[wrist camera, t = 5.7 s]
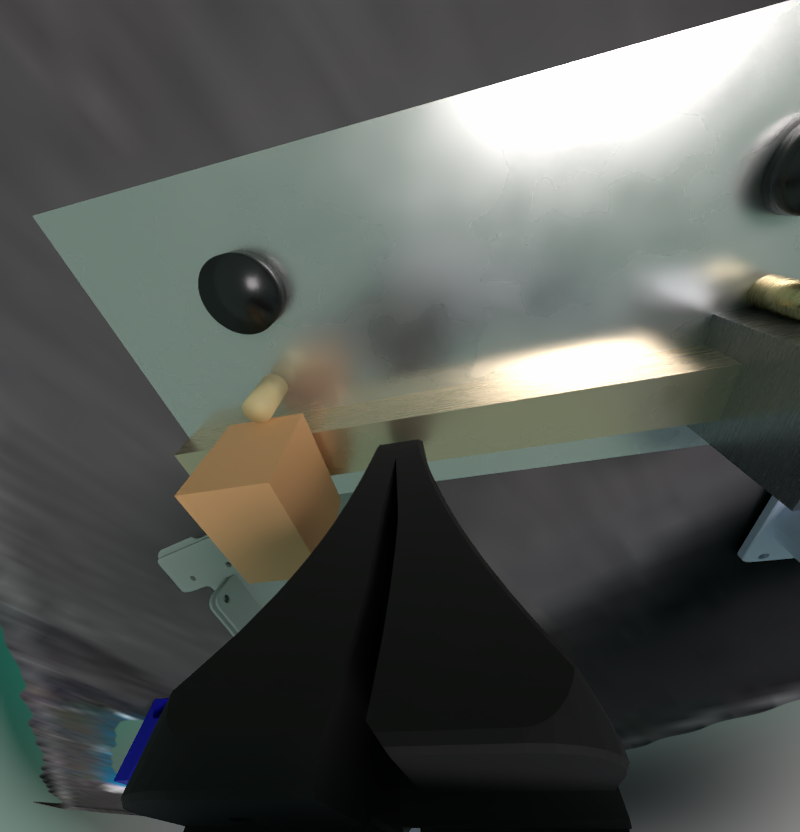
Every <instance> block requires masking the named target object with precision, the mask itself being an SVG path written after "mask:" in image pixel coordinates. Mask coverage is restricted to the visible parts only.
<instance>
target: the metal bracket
mask: <svg viewBox="0 0 800 832" xmlns="http://www.w3.org/2000/svg"><path fill="white" fill-rule="evenodd" d="M352 494H353V492H351V493H344V494H339V496H340V498H341V503H340V508H339V512H338V516H339V514H340V513H341V511H342V510H343V508H344V507H345V505H346V504H347V502H348V500H349V499H350V497H351V495H352ZM158 558H159V560H158V563H159V565H160V566H161V567H162V568H163V570H164V571H165V572H166V573H167V574H168V575H169V577H170V578H171V579H172V580H173V581H174V582H175V584H176V585H177V586H178V587H179V588H180V590H182V591H183V592H188V591H189V592H192V591H194V590H197V589H200V588H202V587H205V586H209V587H211V588H212V589H213V590H214V592H213V594H212V595H211V597H210V600H209V605H210V609H211V610H212V612H213V613H214V614H215V615H216V616H217V618H218V619H219V620H220V621H221V622H222V624H223V625H224V626H225V627H226V628H227V630H228V631H229V632H230V633H231V634H232V636H233V637H234V636H235V635H236V634H237V633H238V632H239V631H240V630H241V629H242V628H243V627H244V626H245V625H246V624H247V623H248V622H249V621H250V620H251V619H252V618H253V617H254V616H255V615H256V614H257V613H258V612H259V611H260V610H261V609H262V608H263V607H264V606H265V605H266V604H267V603H268V602H269V601H270V600H271V599H272V598H273V597H274V596H275V595H276V594H277V593H278V591H279V590H280V589H281V588H282V587H283V586H284V585H285V584H286V583H287V581H288V580H281V581H271V582H261V583H251V584H248V583H247V582H246V580H245V579H244V578H243V577H242V576H241V574H240V573H239V572H238V571H237V570H236V568H235V567H234V566H233V565H232V564H231V565H230V564H229V563H230V561H229V560H228V559H227V558H226V557H225V555H224V554H223V553H222V552H221V551H220V550H219V548H218V547H217V546H216V545H215V544H214V542H213V541H212V540H211V539H210V538H209V537H208V535H205V536H203V537H200V538H193V537H190V538H188V539H185V540H183V541H181V542H178V543H176V544H174V545H172V546H169V547H167V548H165V549H162V550H160V552H159V554H158Z"/></svg>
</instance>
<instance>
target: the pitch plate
mask: <svg viewBox="0 0 800 832" xmlns="http://www.w3.org/2000/svg"><path fill="white" fill-rule="evenodd" d="M33 218H34V219H35V220H36V222H37V223H38V225H39V226H40V228H41V229H42V230H43V232H44V233H45V235H46V236H47V237H48V239H49V240H50V242H51V243H52V244H53V246H54V247H55V249H56V250H57V252H58V253H59V254H60V256H61V257H62V259H63V260H64V261H65V263H66V264H67V266H68V267H69V268H70V270H71V271H72V273H73V274H74V276H75V277H76V278H77V280H78V281H79V283H80V284H81V285H82V287H83V288H84V290H85V291H86V292H87V294H88V295H89V297H90V298H91V300H92V301H93V302H94V304H95V305H96V307H97V308H98V309H99V311H100V312H101V314H102V315H103V316H104V318H105V319H106V321H107V322H108V324H109V325H110V326H111V328H112V329H113V331H114V332H115V333H116V335H117V336H118V338H119V339H120V340H121V342H122V343H123V345H124V346H125V348H126V349H127V350H128V352H129V353H130V355H131V356H132V357H133V359H134V360H135V362H136V363H137V365H138V366H139V367H140V369H141V370H142V372H143V373H144V374H145V376H146V377H147V379H148V380H149V381H150V383H151V384H152V386H153V387H154V389H155V390H156V391H157V393H158V394H159V396H160V397H161V398H162V400H163V401H164V403H165V404H166V405H167V407H168V408H169V410H170V411H171V413H172V414H173V415H174V417H175V418H176V420H177V421H178V422H179V424H180V425H181V427H182V428H183V429H184V431H185V432H186V434H187V435H188V437H189V438H190V439H189V440H188V441H187V442H186V443H185V444H184V445H183V446H182V447H181V448H180V450H179V451H178V452H177V453H176V454H175V455H174V456H175V457H176V458H177V459H178V461H179V462H180V463H181V465H182V466H183V467H184V469H185V470H186V471H187V472H188V474H189V475H191V474H192V473H193V472H194V470H195V469H196V468H197V466H198V465H199V464H200V463H201V461H202V460H203V459H204V458H205V456H206V455H207V454H208V452H209V451H210V450H211V449H212V447H213V446H214V445H215V444H216V442H217V441H218V440H219V438H220V437H221V436H222V435H223V433H224V432H225V431H226V430H227V428H228V427H229V426H230V425H235V424H241V423H247V422H252V421H251V420H249V419H248V418H247V417H246V416H245V415H244V413H243V411H242V404H243V402H244V401H245V400H246V399H247V397H248V396H249V395H250V394H251V393H252V391H253V390H254V389H255V388H256V386H257V385H258V384H259V383H260V381H261V380H262V379H263V378H264V377H265V376H266V375H269V374H275V375H278V376H280V377H282V378H283V379H284V380H285V381H286V383H287V385H288V391H287V393H286V395H285V396H284V398H283V400H282V401H281V403H280V404H279V406H278V408H277V409H276V411H275V412H274V414H273V416H272V417H271V418H276V417H282V416H288V415H294V414H299V413H303V415H304V417H305V419H306V421H307V424H308V426H309V428H310V430H311V433H312V435H313V437H314V439H315V442H316V444H317V446H318V448H319V451H320V453H321V455H322V457H323V460H324V462H325V464H326V466H327V469H328V471H329V473H330V475H331V478H332V480H333V482H334V484H335V487H336V489H337V491H338V493H339V494H344V493H351V492H354V490H355V489H356V487H357V485H358V483H359V482H360V480H361V478H362V476H363V474H364V473H365V471H366V469H367V467H368V465H369V463H370V461H371V459H372V457H373V455H374V453H375V451H376V449H377V448H378V446H379V445H383V444H390V443H396V442H403V441H410V440H416V439H419V440H421V441H423V445H424V449H425V454H426V458H427V463H428V466H429V469H430V471H431V473H432V476H433V478H434V480H435V481H441V480H448V479H456V478H463V477H470V476H478V475H485V474H493V473H500V472H508V471H515V470H523V469H530V468H538V467H545V466H553V465H560V464H568V463H575V462H582V461H590V460H597V459H605V458H612V457H620V456H627V455H635V454H642V453H650V452H657V451H665V450H672V449H680V448H687V447H694V446H702V445H709V444H710V445H711V446H712V447H713V448H715V449H716V450H717V451H718V452H720V453H721V454H722V455H723V456H725V457H726V458H727V459H728V460H729V461H731V462H732V463H733V464H734V465H736V466H737V467H738V468H739V469H741V470H742V471H743V472H744V473H745V474H747V475H748V476H749V477H750V478H752V479H753V480H754V481H755V482H757V483H758V484H759V485H760V486H761V487H763V488H764V489H765V490H766V491H768V492H769V493H770V494H771V495H773V496H774V497H775V498H776V499H777V500H779V501H780V502H781V503H782V504H784V505H785V506H786V507H787V508H789V509H790V510H791V511H798V510H800V0H789V1H785V2H782V3H778V4H775V5H771V6H768V7H764V8H761V9H757V10H754V11H750V12H747V13H743V14H740V15H736V16H733V17H729V18H726V19H722V20H719V21H715V22H712V23H708V24H705V25H701V26H698V27H694V28H691V29H687V30H684V31H680V32H677V33H673V34H670V35H666V36H663V37H659V38H656V39H652V40H648V41H645V42H641V43H638V44H634V45H631V46H627V47H624V48H620V49H617V50H613V51H610V52H606V53H603V54H599V55H596V56H592V57H589V58H585V59H582V60H578V61H575V62H571V63H568V64H564V65H561V66H557V67H554V68H550V69H547V70H543V71H540V72H536V73H533V74H529V75H526V76H522V77H519V78H515V79H511V80H508V81H504V82H501V83H497V84H494V85H490V86H487V87H483V88H480V89H476V90H473V91H469V92H466V93H462V94H459V95H455V96H452V97H448V98H445V99H441V100H438V101H434V102H431V103H427V104H424V105H420V106H417V107H413V108H410V109H406V110H403V111H399V112H396V113H392V114H389V115H385V116H382V117H378V118H374V119H371V120H367V121H364V122H360V123H357V124H353V125H350V126H346V127H343V128H339V129H336V130H332V131H329V132H325V133H322V134H318V135H315V136H311V137H308V138H304V139H301V140H297V141H294V142H290V143H287V144H283V145H280V146H276V147H273V148H269V149H266V150H262V151H259V152H255V153H252V154H248V155H245V156H241V157H237V158H234V159H230V160H227V161H223V162H220V163H216V164H213V165H209V166H206V167H202V168H199V169H195V170H192V171H188V172H185V173H181V174H178V175H174V176H171V177H167V178H164V179H160V180H157V181H153V182H150V183H146V184H143V185H139V186H136V187H132V188H129V189H125V190H122V191H118V192H115V193H111V194H108V195H104V196H100V197H97V198H93V199H90V200H86V201H83V202H79V203H76V204H72V205H69V206H65V207H62V208H58V209H55V210H51V211H48V212H44V213H41V214H37V215H34V216H33Z"/></svg>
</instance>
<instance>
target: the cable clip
mask: <svg viewBox="0 0 800 832" xmlns="http://www.w3.org/2000/svg"><path fill="white" fill-rule="evenodd" d="M168 699H169V698H164V699H155V700H154V702H153V704H152V706H151V708H150V710H149V712H148V714H147V716H146V718H145V720H144V722H143V724H142V726H141V728H140V730H139V732H138V734H137V736H136V738H135V739H134V741H133V744H132V745H131V748H130V749H129V751H128V753H127V755H126V757H125V759H124V761H123V764H122V765H121V767H120V769H119V771H118V773H117V775H116V777H115V779H114V781H115V782H119V783H122V784H126V785H127V784H128V782H129V780H130V778H131V776H132V774H133V771H134V769H135V767H136V765H137V763H138V761H139V759H140V757H141V755H142V753H143V751H144V748H145V746H146V744H147V742H148V740H149V738H150V736H151V734H152V732H153V730H154V728H155V725H156V723H157V721H158V719H159V717H160V715H161V713H162V711H163V709H164V707H165V705H166V703H167V701H168Z"/></svg>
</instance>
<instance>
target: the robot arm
mask: <svg viewBox="0 0 800 832" xmlns="http://www.w3.org/2000/svg"><path fill="white" fill-rule="evenodd" d="M737 555H738V556H739V557H740V558H741V559H742V560H743V561H745V562H757V561H768V560H779V559H790V558H795V559H796V560H798V561H799V562H800V510H798V511H791V510H790V509H789V508H787V507H786V506H785V505H784V504H782V503H781V502H780V501H779V500H777V499H776V498H775V497H774V496H773V495H772V497H771V498H770V500H769V501H768V503H767V505H766V506H765V508H764V510H763V511H762V513H761V515H760V516H759V518H758V520H757V521H756V523H755V525H754V526H753V528H752V530H751V531H750V533H749V534H748V536H747V538H746V539H745V541H744V543H743V544H742V546H741V548H740V549H739V551H738V554H737ZM628 769H629V760H628V757H627V754H626V752H625V749H624V747H623V745H622V743H621V741H620V739H619V737H618V735H617V733H616V731H615V729H614V727H613V725H612V723H611V721H610V719H609V717H608V716H607V714H606V712H605V710H604V709H603V707H602V705H601V704H600V702H599V700H598V699H597V697H596V696H595V694H594V692H593V691H592V689H591V688H590V686H589V685H588V683H587V682H586V680H585V678H584V677H583V675H582V674H581V672H580V671H579V669H578V667H577V666H576V664H575V663H574V662H573V661H572V660H571V659H570V658H569V657H568V655H567V654H566V653H565V652H564V651H563V650H562V649H561V648H560V647H559V646H558V645H557V644H556V643H555V642H554V641H553V640H552V639H551V638H550V636H549V635H548V634H547V633H546V632H545V631H544V630H543V629H542V628H541V627H540V626H539V624H538V623H537V622H536V621H535V620H534V619H533V618H532V617H531V616H530V614H529V613H528V612H527V611H526V610H525V609H524V608H523V606H522V605H521V604H520V603H519V602H518V601H517V600H516V598H515V597H514V596H513V595H512V594H511V593H510V591H509V590H508V589H507V588H506V586H505V585H504V584H503V583H502V581H501V580H500V579H499V578H498V576H497V575H496V574H495V573H494V571H493V570H492V569H491V568H490V566H489V565H488V564H487V563H486V561H485V560H484V559H483V557H482V556H481V555H480V553H479V552H478V551H477V549H476V548H475V546H474V545H473V544H472V542H471V541H470V539H469V538H468V536H467V535H466V533H465V532H464V531H463V529H462V528H461V526H460V524H459V523H458V521H457V520H456V518H455V517H454V515H453V513H452V512H451V510H450V508H449V506H448V505H447V503H446V501H445V499H444V498H443V496H442V494H441V492H440V490H439V488H438V486H437V484H436V482H435V480H434V478H433V476H432V473H431V471H430V469H429V466H428V463H427V458H426V454H425V449H424V445H423V441H421V440H419V439H416V440H410V441H403V442H396V443H390V444H383V445H379V446H378V448H377V449H376V451H375V453H374V455H373V457H372V459H371V461H370V463H369V465H368V467H367V469H366V471H365V473H364V474H363V476H362V478H361V480H360V482H359V483H358V485H357V487H356V489H355V490H354V492H353V494H352V495H351V497H350V499H349V500H348V502H347V504H346V505H345V507H344V508H343V510H342V511H341V513H340V514H339V516H338V517H337V519H336V520H335V522H334V523H333V525H332V526H331V528H330V529H329V530H328V532H327V533H326V535H325V536H324V537H323V539H322V540H321V541H320V543H319V544H318V545H317V547H316V548H315V549H314V550H313V552H312V553H311V554H310V556H309V557H308V558H307V559H306V560H305V562H304V563H303V564H302V565H301V566H300V567H299V569H298V570H297V571H296V572H295V573H294V575H293V576H292V577H291V578H290V579H289V580H288V581H287V583H286V584H285V585H284V586H283V587H282V588H281V589H280V590H279V591H278V593H277V594H276V595H275V596H274V597H273V598H272V599H271V600H270V601H269V602H268V603H267V604H266V605H265V606H264V607H263V608H262V609H261V610H260V611H259V612H258V613H257V614H256V615H255V616H254V617H253V618H252V619H251V620H250V621H249V622H248V623H247V624H246V625H245V626H244V627H243V628H242V629H241V630H240V631H239V632H238V633H237V634H236V635H235V636H234V637H233V638H232V639H231V640H230V641H229V642H227V643H226V644H225V645H224V646H223V647H222V648H221V649H220V650H219V651H217V652H216V653H215V654H214V655H213V656H212V657H211V658H210V659H209V660H207V661H206V662H205V663H204V664H203V665H202V666H201V667H200V668H198V669H197V670H196V671H195V672H194V673H193V674H192V675H191V676H189V677H188V678H187V679H186V680H185V681H184V682H183V683H181V684H180V685H179V686H178V687H177V688H176V689H174V690H173V692H172V693H171V695H170V697H169V699H168V701H167V703H166V705H165V707H164V709H163V711H162V713H161V715H160V717H159V719H158V721H157V723H156V725H155V728H154V730H153V732H152V734H151V736H150V738H149V740H148V742H147V744H146V746H145V748H144V751H143V753H142V755H141V757H140V759H139V761H138V763H137V765H136V767H135V769H134V771H133V774H132V776H131V778H130V780H129V782H128V784H127V786H126V788H125V790H124V792H123V794H122V796H121V801H122V805H123V808H124V809H125V810H127V811H129V812H132V813H135V814H139V815H142V816H146V817H150V818H154V819H158V820H163V821H166V822H171V823H175V824H179V825H183V826H185V829H184V831H183V832H409V831H410V829H411V828H420V829H421V832H629V829H631V828H632V827H631V823H630V819H629V816H628V813H627V810H626V807H625V805H624V802H623V799H622V796H621V793H620V791H619V788H618V786H619V784H620V783H621V782H622V781H623V779H624V778H625V777H626V775H627V772H628Z"/></svg>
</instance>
